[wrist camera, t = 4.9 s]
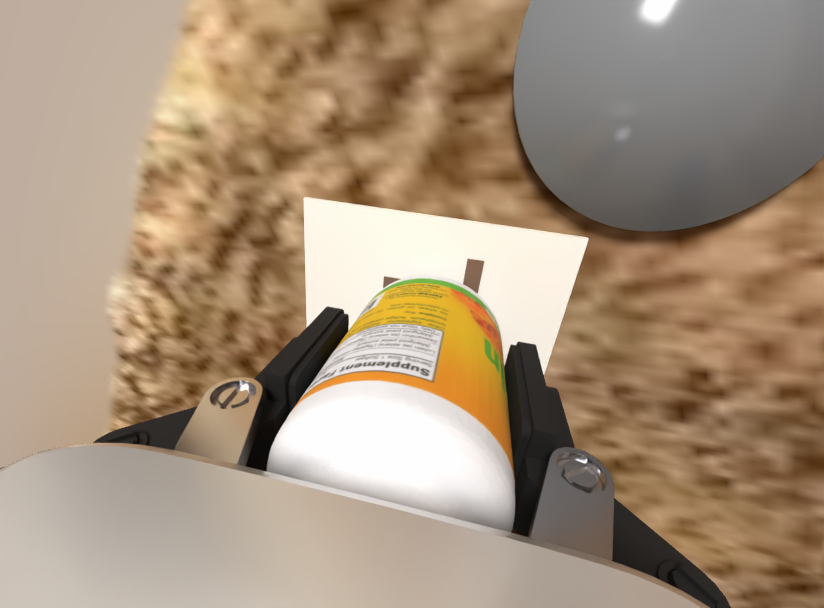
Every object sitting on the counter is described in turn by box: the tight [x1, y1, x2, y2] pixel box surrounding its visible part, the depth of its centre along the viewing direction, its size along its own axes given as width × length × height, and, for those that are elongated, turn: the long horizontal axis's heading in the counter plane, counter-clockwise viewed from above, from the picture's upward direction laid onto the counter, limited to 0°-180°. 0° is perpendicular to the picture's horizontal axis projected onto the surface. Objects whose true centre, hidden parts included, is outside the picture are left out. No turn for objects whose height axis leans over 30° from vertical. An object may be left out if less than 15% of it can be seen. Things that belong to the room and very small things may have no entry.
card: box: [304, 197, 589, 375], centre depth 14 cm, size 10×10×1 cm
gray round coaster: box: [513, 0, 824, 232], centre depth 9 cm, size 9×9×1 cm
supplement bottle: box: [266, 275, 515, 533], centre depth 9 cm, size 5×5×10 cm
